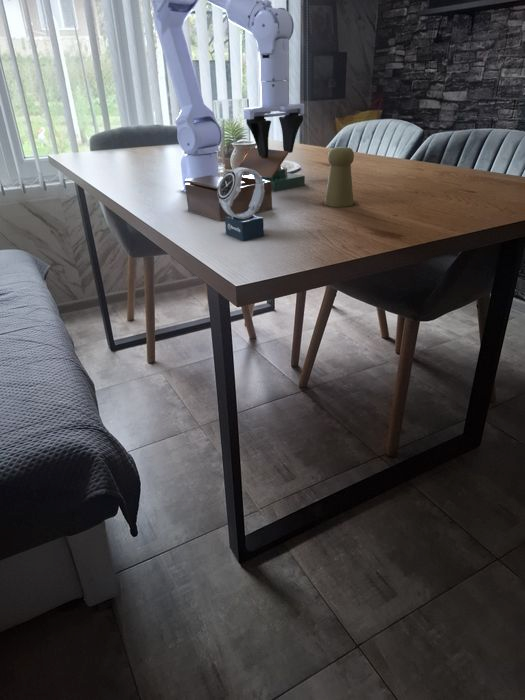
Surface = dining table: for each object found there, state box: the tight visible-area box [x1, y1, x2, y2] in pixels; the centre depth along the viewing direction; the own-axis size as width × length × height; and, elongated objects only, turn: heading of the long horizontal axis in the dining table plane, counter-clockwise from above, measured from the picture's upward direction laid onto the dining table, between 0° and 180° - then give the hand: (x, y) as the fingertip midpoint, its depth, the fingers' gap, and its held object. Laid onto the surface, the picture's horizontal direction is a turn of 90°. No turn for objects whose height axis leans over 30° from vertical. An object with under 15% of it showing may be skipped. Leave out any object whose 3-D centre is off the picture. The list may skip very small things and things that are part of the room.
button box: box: [244, 165, 306, 192], centre depth 121 cm, size 12×10×4 cm
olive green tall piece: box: [324, 146, 355, 208], centre depth 99 cm, size 6×6×11 cm
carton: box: [185, 175, 273, 222], centre depth 99 cm, size 13×12×6 cm
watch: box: [217, 166, 265, 242], centre depth 81 cm, size 6×8×11 cm
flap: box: [237, 146, 290, 178], centre depth 101 cm, size 6×12×1 cm
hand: (276, 154), depth 103 cm, fingers open, 6 cm apart
